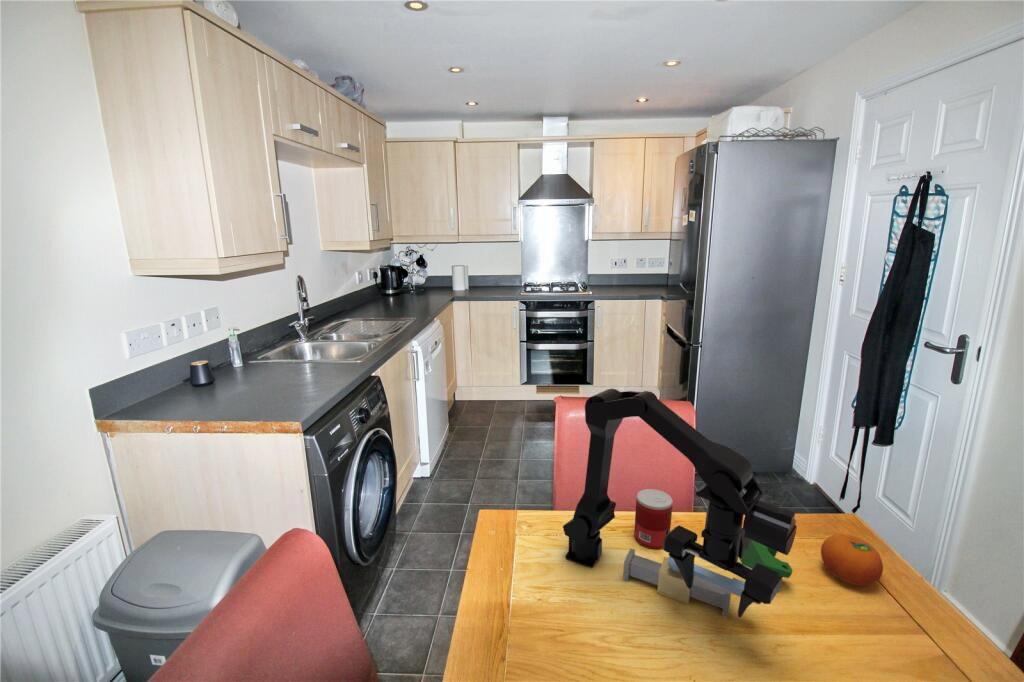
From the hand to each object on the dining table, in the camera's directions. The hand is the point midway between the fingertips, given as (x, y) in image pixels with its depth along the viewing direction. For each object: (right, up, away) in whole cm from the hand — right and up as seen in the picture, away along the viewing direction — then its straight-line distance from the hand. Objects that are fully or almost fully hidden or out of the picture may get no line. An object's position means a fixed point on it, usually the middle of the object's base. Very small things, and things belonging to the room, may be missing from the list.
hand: (714, 601), depth 85 cm
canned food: (-4, 0, +26) cm, 26 cm away
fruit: (+34, -3, +14) cm, 37 cm away
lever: (+2, +1, +5) cm, 6 cm away
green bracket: (+17, -3, +16) cm, 23 cm away
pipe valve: (-4, -4, +10) cm, 11 cm away
